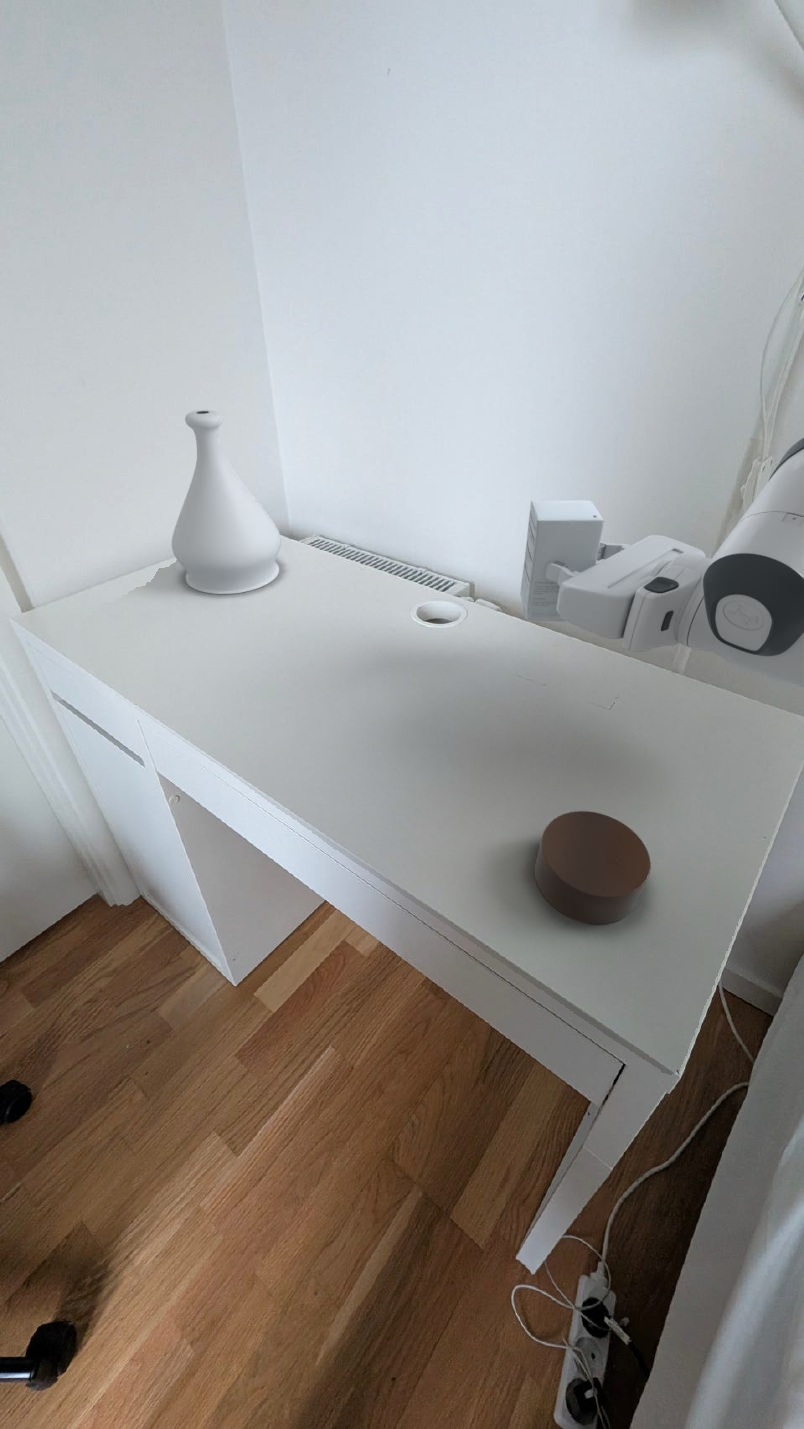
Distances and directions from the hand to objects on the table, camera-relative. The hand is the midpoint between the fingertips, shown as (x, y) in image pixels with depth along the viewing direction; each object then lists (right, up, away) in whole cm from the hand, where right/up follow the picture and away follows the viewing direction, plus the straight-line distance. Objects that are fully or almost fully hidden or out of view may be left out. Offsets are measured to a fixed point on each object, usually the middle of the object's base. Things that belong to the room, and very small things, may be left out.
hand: (570, 558), depth 68 cm
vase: (-49, +6, +31) cm, 58 cm away
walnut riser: (-3, -33, -17) cm, 37 cm away
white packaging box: (-1, -5, +5) cm, 8 cm away
